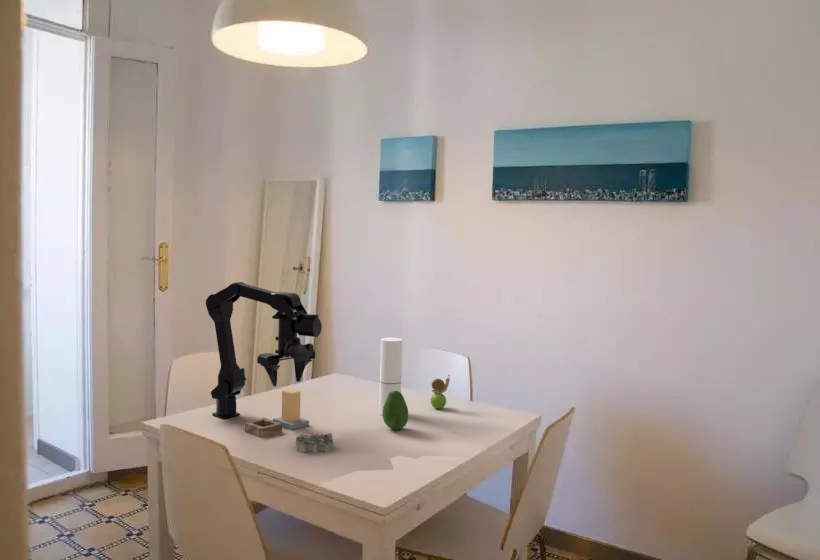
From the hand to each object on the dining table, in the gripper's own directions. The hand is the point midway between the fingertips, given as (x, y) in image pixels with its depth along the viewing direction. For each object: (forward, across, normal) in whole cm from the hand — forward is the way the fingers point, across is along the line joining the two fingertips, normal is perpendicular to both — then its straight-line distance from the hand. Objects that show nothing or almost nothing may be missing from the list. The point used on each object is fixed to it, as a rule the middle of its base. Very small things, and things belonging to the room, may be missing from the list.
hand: (286, 383), depth 207 cm
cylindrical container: (+13, +32, -14) cm, 38 cm away
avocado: (+13, +20, -27) cm, 36 cm away
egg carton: (+13, -9, -23) cm, 28 cm away
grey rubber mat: (+13, +1, -1) cm, 13 cm away
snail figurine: (+13, +49, -22) cm, 56 cm away
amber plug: (+11, +1, -1) cm, 11 cm away
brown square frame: (+13, -10, -1) cm, 16 cm away
